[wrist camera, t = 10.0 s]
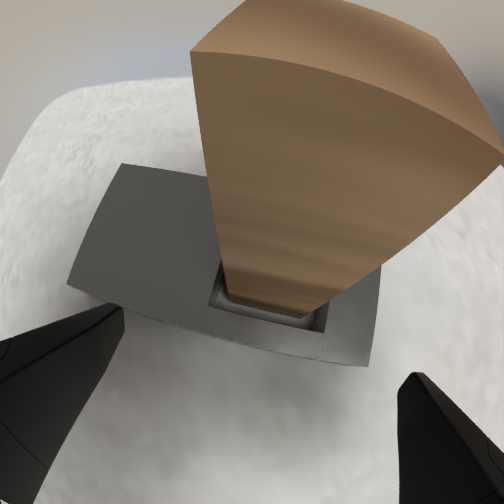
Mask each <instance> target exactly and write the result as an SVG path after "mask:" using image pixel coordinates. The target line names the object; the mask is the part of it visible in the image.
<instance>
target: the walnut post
mask: <svg viewBox="0 0 504 504" xmlns="http://www.w3.org/2000/svg"><path fill="white" fill-rule="evenodd" d="M190 57H191V66H192V74H193V82H194V90H195V97H196V105H197V112H198V119H199V126H200V133H201V140H202V146H203V153H204V159H205V166H206V172H207V178H208V184H209V190H210V196H211V202H212V208H213V214H214V220H215V225H216V231H217V237H218V242H219V247H220V253H221V258H222V264H223V269H224V274H225V279H226V284H227V289H228V294H229V299H230V302H232V303H236V304H240V305H244V306H248V307H252V308H256V309H260V310H264V311H269V312H273V313H277V314H282V315H286V316H290V317H295V318H300V319H301V318H303V317H304V316H306V315H307V314H309V313H311V312H312V311H314V310H315V309H317V308H319V307H320V306H322V305H323V304H325V303H326V302H328V301H329V300H331V299H333V298H334V297H336V296H337V295H339V294H340V293H342V292H343V291H345V290H346V289H348V288H349V287H351V286H352V285H353V284H355V283H356V282H358V281H359V280H361V279H362V278H364V277H365V276H366V275H368V274H369V273H371V272H372V271H374V270H375V269H376V268H378V267H379V266H381V265H382V264H383V263H385V262H386V261H387V260H389V259H390V258H391V257H393V256H394V255H395V254H397V253H398V252H399V251H401V250H402V249H403V248H405V247H406V246H407V245H409V244H410V243H411V242H412V241H414V240H415V239H416V238H418V237H419V236H420V235H421V234H423V233H424V232H425V231H426V230H428V229H429V228H430V227H431V226H432V225H434V224H435V223H436V222H437V221H439V220H440V219H441V218H442V217H443V216H444V215H446V214H447V213H448V212H449V211H450V210H452V209H453V208H454V207H455V206H456V205H457V204H458V203H460V202H461V201H462V200H463V199H464V198H465V197H466V196H467V195H468V194H470V193H471V192H472V191H473V190H474V189H475V188H476V187H477V186H478V185H479V184H480V183H481V182H483V181H484V180H485V179H486V178H487V177H488V176H489V175H490V174H491V173H492V172H493V171H494V170H495V169H496V168H497V167H498V166H499V165H500V164H501V163H502V162H503V161H504V148H503V146H502V143H501V141H500V139H499V137H498V134H497V132H496V130H495V128H494V126H493V124H492V122H491V120H490V118H489V116H488V114H487V113H486V111H485V109H484V107H483V105H482V103H481V102H480V100H479V98H478V96H477V95H476V93H475V91H474V90H473V88H472V87H471V85H470V84H469V82H468V80H467V79H466V77H465V76H464V74H463V73H462V71H461V70H460V68H459V67H458V65H457V64H456V63H455V61H454V60H453V58H452V57H451V56H450V54H449V53H448V52H447V50H446V49H445V48H444V47H443V45H442V44H441V43H440V42H439V40H438V39H437V38H435V37H433V36H431V35H429V34H427V33H425V32H423V31H421V30H419V29H417V28H415V27H413V26H411V25H409V24H406V23H404V22H402V21H400V20H397V19H395V18H392V17H390V16H387V15H385V14H382V13H380V12H377V11H374V10H371V9H368V8H365V7H362V6H359V5H356V4H353V3H349V2H345V1H342V0H246V1H245V2H243V3H242V4H241V5H240V6H238V7H237V8H236V9H235V10H234V11H232V12H231V13H230V14H229V15H228V16H227V17H225V18H224V19H223V20H222V21H221V22H220V23H219V24H217V25H216V27H214V28H213V29H212V30H211V31H210V32H209V33H208V34H207V35H206V36H205V37H204V38H203V39H202V40H201V41H200V42H199V43H198V44H197V45H196V46H195V47H194V48H193V49H192V50H191V51H190Z"/></svg>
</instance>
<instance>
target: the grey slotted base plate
mask: <svg viewBox="0 0 504 504" xmlns="http://www.w3.org/2000/svg"><path fill="white" fill-rule="evenodd" d="M223 273H224V269H223V264H222V258H221V253H220V247H219V242H218V237H217V231H216V225H215V220H214V214H213V208H212V202H211V196H210V190H209V184H208V178H207V177H204V176H198V175H193V174H187V173H182V172H176V171H170V170H164V169H157V168H151V167H144V166H137V165H130V164H123V163H122V164H121V165H120V167H119V169H118V171H117V172H116V174H115V176H114V178H113V180H112V181H111V183H110V185H109V187H108V189H107V191H106V193H105V195H104V197H103V199H102V201H101V203H100V205H99V207H98V209H97V211H96V213H95V215H94V217H93V219H92V221H91V223H90V226H89V228H88V230H87V232H86V235H85V237H84V239H83V242H82V244H81V247H80V249H79V251H78V254H77V256H76V259H75V262H74V264H73V267H72V270H71V272H70V275H69V278H68V281H67V284H68V285H70V286H72V287H74V288H76V289H78V290H80V291H82V292H84V293H86V294H88V295H90V296H93V297H95V298H98V299H100V300H103V301H105V302H108V303H109V302H111V303H114V304H117V305H120V306H121V307H122V308H124V309H127V310H129V311H132V312H135V313H138V314H140V315H143V316H146V317H149V318H152V319H155V320H158V321H161V322H164V323H167V324H170V325H173V326H177V327H180V328H183V329H186V330H190V331H193V332H196V333H200V334H203V335H207V336H210V337H214V338H218V339H221V340H225V341H229V342H233V343H237V344H241V345H245V346H249V347H253V348H257V349H262V350H266V351H271V352H275V353H280V354H285V355H290V356H295V357H300V358H305V359H310V360H316V361H322V362H328V363H334V364H340V365H347V366H359V367H368V364H369V358H370V353H371V347H372V341H373V335H374V328H375V321H376V314H377V305H378V296H379V286H380V275H381V266H379V267H378V268H376V269H375V270H374V271H372V272H371V273H369V274H368V275H366V276H365V277H364V278H362V279H361V280H359V281H358V282H356V283H355V284H353V285H352V286H351V287H349V288H348V289H346V290H345V291H343V292H342V293H340V294H339V295H337V296H336V297H334V298H333V299H331V300H329V301H328V302H326V303H325V304H323V305H322V306H320V307H319V308H318V310H317V315H316V321H315V326H314V331H309V330H304V329H300V328H295V327H290V326H286V325H281V324H277V323H273V322H268V321H264V320H260V319H256V318H251V317H247V316H243V315H239V314H235V313H232V312H228V311H224V310H220V309H216V308H214V305H215V301H216V298H217V294H218V291H219V287H220V284H221V280H222V277H223Z"/></svg>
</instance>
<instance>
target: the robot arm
mask: <svg viewBox="0 0 504 504" xmlns="http://www.w3.org/2000/svg"><path fill="white" fill-rule="evenodd" d="M124 330H125V324H124V313H123V308H122V307H121V306H120V305H117V304H114V303H111V302H109V303H106V304H103V305H101V306H98V307H95V308H92V309H89V310H87V311H84V312H81V313H78V314H75V315H73V316H70V317H67V318H64V319H61V320H59V321H56V322H53V323H50V324H47V325H45V326H42V327H39V328H36V329H33V330H31V331H28V332H25V333H22V334H19V335H17V336H14V337H13V338H12V337H11V338H8V339H5V340H3V341H0V500H3V501H5V502H6V503H8V504H33V503H34V500H35V498H36V496H37V494H38V492H39V490H40V488H41V485H42V483H43V481H44V479H45V477H46V475H47V473H48V471H49V469H50V467H51V465H52V463H53V461H54V459H55V457H56V455H57V454H58V452H59V450H60V448H61V446H62V444H63V442H64V441H65V439H66V437H67V435H68V433H69V432H70V430H71V428H72V426H73V425H74V423H75V421H76V419H77V418H78V416H79V414H80V412H81V411H82V409H83V407H84V406H85V404H86V402H87V401H88V399H89V397H90V396H91V394H92V392H93V391H94V389H95V387H96V386H97V384H98V383H99V381H100V379H101V378H102V376H103V374H104V373H105V371H106V369H107V367H108V365H109V362H110V360H111V358H112V356H113V354H114V352H115V350H116V348H117V346H118V344H119V342H120V340H121V338H122V336H123V334H124ZM397 407H398V420H397V436H398V454H399V504H504V453H503V452H502V451H501V450H500V449H499V448H498V447H497V446H496V445H495V444H494V443H493V442H492V441H491V440H490V439H489V438H488V437H487V436H486V435H485V434H484V433H483V432H482V430H481V429H480V428H479V427H478V426H477V425H476V424H475V423H474V422H473V421H472V420H471V419H470V418H469V417H468V416H467V415H466V414H465V413H464V412H463V411H462V410H461V409H460V408H459V407H458V406H457V405H456V404H455V403H454V402H453V401H452V400H451V399H450V398H449V397H448V396H447V395H446V394H445V393H444V392H443V391H442V390H441V389H440V388H439V387H438V386H437V385H436V384H435V383H434V382H432V381H431V380H430V379H429V378H428V377H427V376H426V375H425V374H424V373H422V372H412V373H411V374H410V375H409V376H408V378H407V379H406V380H405V382H404V383H403V384H402V385H401V387H400V388H399V390H398V394H397ZM0 504H1V501H0Z"/></svg>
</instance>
